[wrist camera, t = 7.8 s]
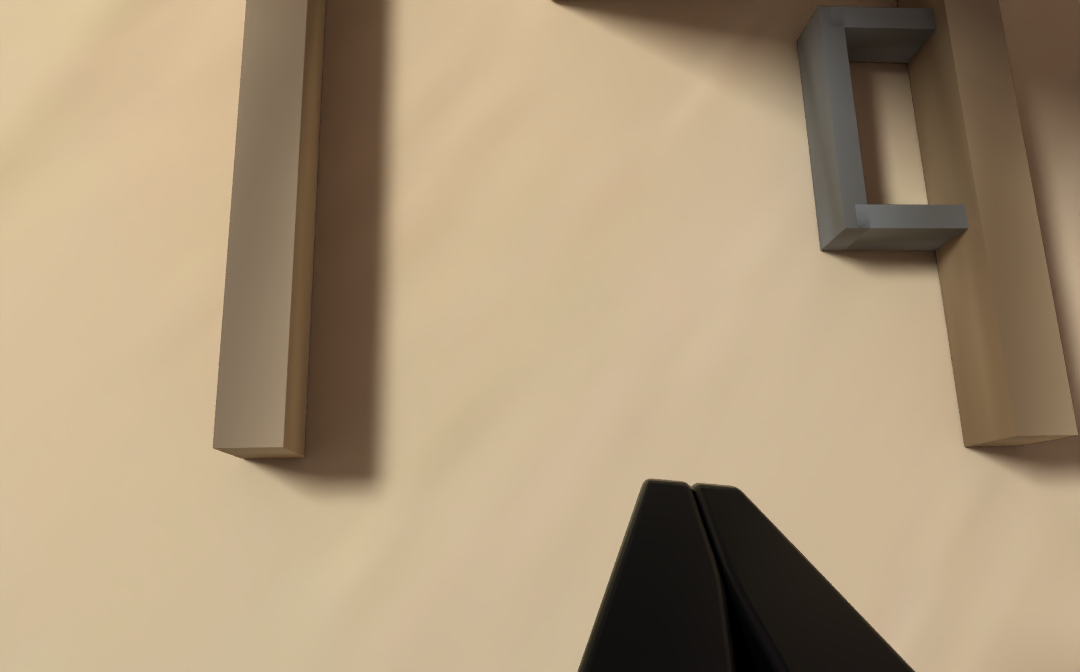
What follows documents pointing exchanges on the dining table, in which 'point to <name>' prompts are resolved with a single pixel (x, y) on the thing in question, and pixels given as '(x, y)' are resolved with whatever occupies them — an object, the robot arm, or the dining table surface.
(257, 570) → the dining table surface
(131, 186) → the dining table surface
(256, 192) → the rectangular frame
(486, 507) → the dining table surface
